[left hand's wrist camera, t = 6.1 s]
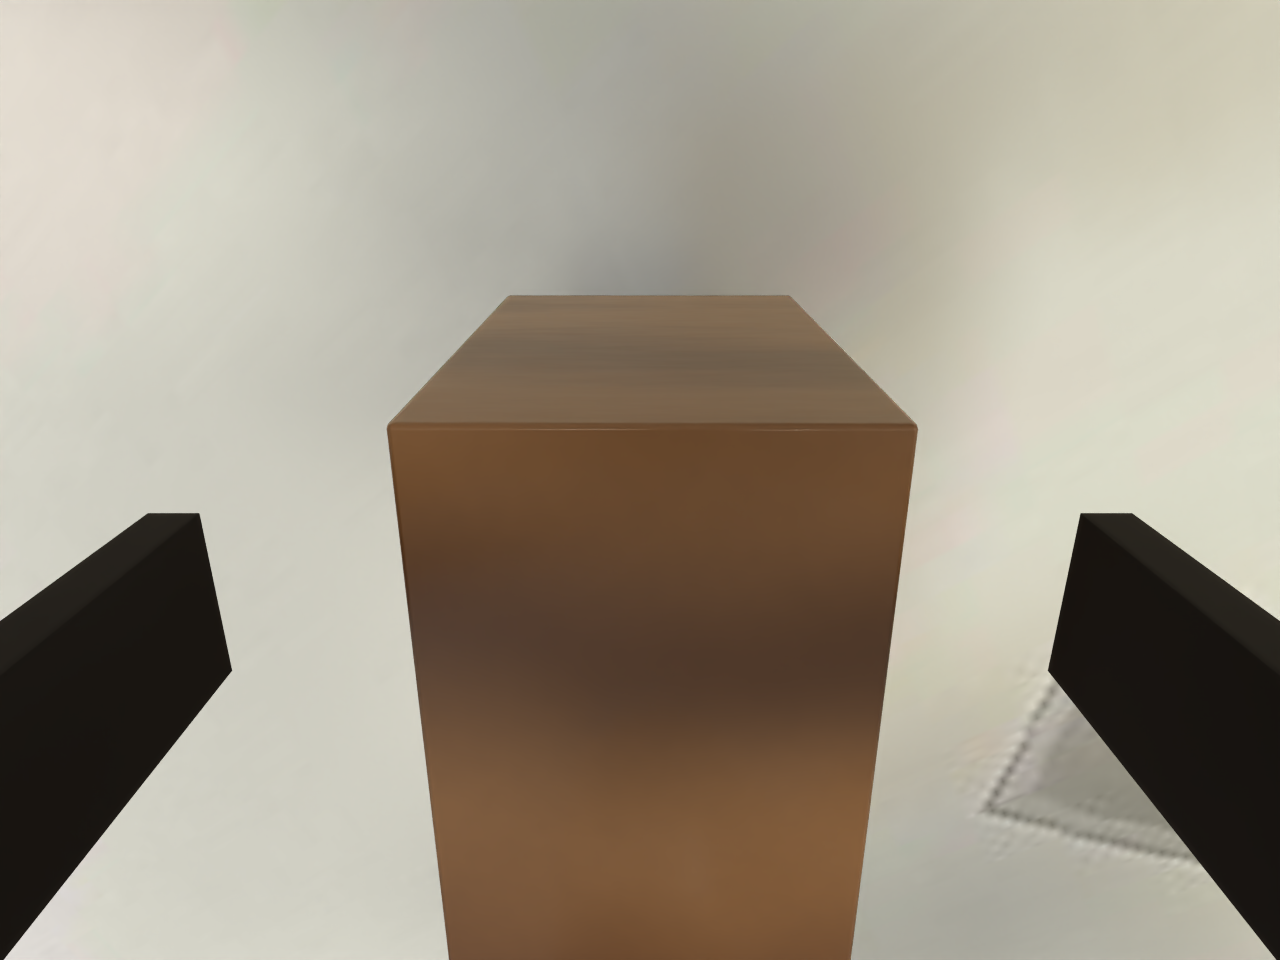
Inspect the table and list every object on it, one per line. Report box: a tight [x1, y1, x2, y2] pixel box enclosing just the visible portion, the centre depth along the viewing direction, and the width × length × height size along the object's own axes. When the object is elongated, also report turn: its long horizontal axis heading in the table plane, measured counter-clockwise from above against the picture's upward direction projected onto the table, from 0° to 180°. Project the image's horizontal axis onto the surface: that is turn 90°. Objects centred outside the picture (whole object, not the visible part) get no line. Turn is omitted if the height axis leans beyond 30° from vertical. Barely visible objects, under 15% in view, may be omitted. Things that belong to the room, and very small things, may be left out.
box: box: [387, 296, 918, 960], centre depth 20 cm, size 30×6×10 cm, turn 0°
